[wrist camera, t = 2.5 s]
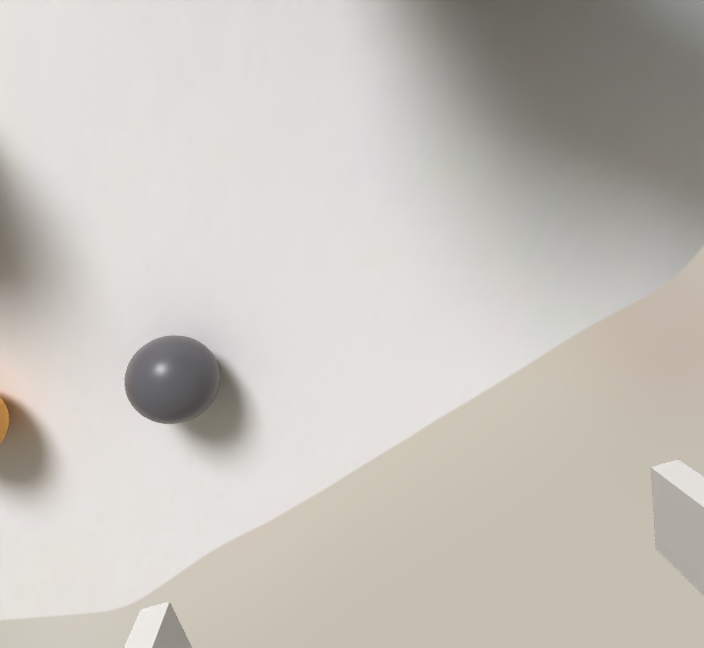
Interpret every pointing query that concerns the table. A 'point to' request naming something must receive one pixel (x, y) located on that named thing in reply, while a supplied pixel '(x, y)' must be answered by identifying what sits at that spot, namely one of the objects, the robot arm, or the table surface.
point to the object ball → (3, 419)
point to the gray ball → (172, 379)
